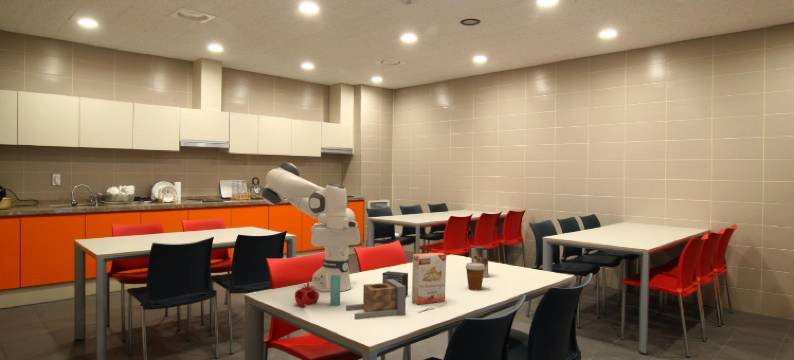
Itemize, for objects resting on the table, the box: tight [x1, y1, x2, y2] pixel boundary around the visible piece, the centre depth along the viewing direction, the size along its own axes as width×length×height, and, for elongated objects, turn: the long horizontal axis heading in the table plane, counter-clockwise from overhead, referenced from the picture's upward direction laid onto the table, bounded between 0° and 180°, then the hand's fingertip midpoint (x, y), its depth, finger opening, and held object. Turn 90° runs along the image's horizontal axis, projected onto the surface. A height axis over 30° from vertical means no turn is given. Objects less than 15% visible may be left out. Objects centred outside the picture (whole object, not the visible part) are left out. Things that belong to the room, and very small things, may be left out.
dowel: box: [329, 275, 341, 307], centre depth 202 cm, size 4×4×13 cm
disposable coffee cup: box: [465, 262, 485, 291], centre depth 237 cm, size 10×10×12 cm
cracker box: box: [411, 252, 447, 305], centre depth 212 cm, size 14×6×21 cm, turn 117°
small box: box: [382, 270, 409, 297], centre depth 222 cm, size 11×6×10 cm, turn 65°
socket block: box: [362, 282, 396, 312], centre depth 192 cm, size 10×10×10 cm
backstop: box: [345, 279, 407, 320], centre depth 190 cm, size 25×14×12 cm, turn 111°
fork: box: [417, 301, 448, 314], centre depth 199 cm, size 3×24×2 cm, turn 136°
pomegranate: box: [294, 282, 320, 307], centre depth 205 cm, size 10×10×9 cm
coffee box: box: [470, 245, 489, 279], centre depth 267 cm, size 9×6×16 cm
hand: (335, 256), depth 201 cm, fingers open, 4 cm apart
